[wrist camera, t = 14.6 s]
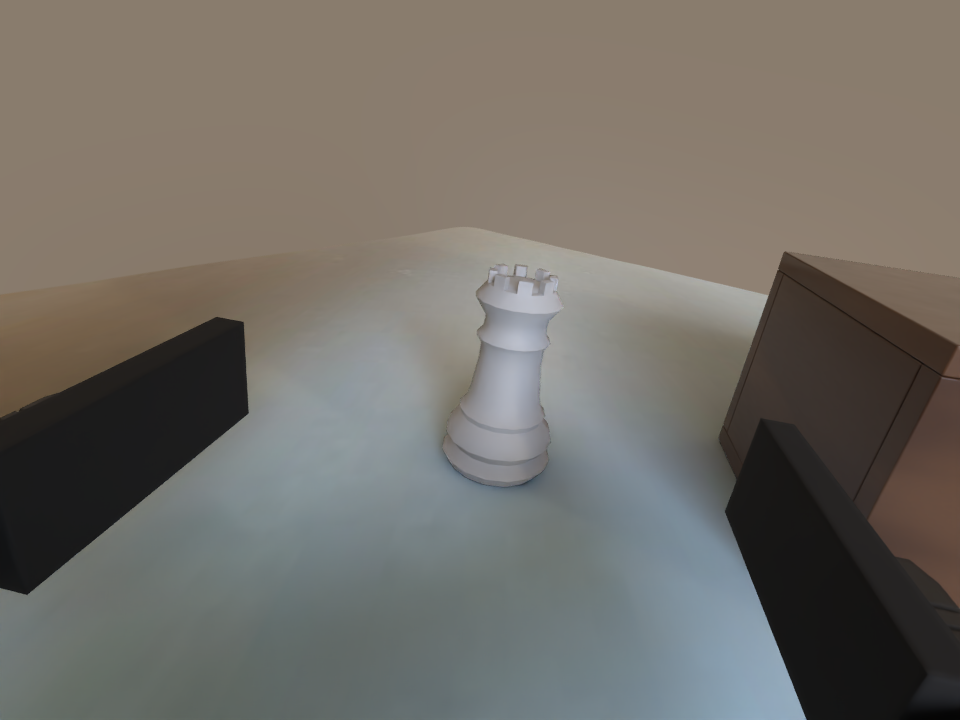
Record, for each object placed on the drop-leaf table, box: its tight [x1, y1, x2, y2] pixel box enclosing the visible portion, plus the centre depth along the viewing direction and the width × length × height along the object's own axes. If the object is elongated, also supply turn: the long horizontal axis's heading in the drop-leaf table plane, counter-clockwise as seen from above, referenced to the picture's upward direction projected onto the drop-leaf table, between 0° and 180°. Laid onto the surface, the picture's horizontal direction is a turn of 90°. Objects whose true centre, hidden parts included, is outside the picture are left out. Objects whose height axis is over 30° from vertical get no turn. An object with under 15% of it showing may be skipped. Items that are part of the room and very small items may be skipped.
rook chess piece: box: [443, 264, 564, 487], centre depth 21 cm, size 4×4×8 cm
